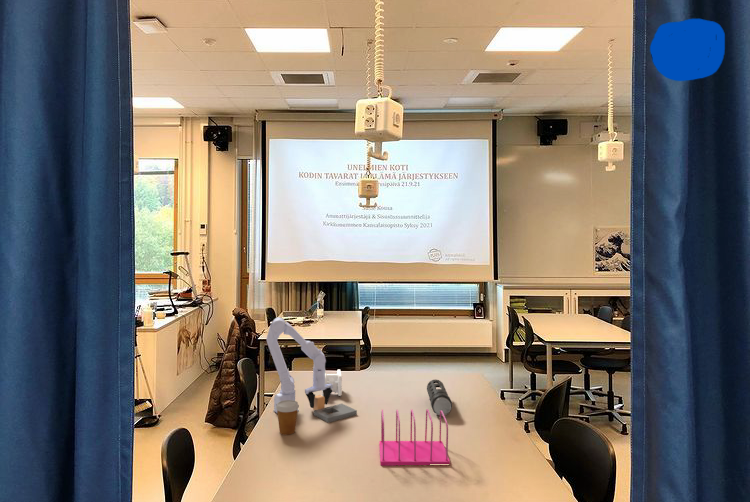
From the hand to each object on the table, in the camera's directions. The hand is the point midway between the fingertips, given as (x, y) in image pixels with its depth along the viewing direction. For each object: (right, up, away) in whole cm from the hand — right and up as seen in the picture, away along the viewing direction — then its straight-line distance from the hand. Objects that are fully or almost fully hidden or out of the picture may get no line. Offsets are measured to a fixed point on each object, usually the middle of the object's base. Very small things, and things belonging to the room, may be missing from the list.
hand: (318, 405), depth 224 cm
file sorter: (+41, -3, -48) cm, 63 cm away
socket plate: (+9, -2, -7) cm, 11 cm away
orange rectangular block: (0, -2, 0) cm, 2 cm away
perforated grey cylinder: (+58, -3, +3) cm, 58 cm away
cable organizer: (+4, -2, +22) cm, 23 cm away
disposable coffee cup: (-10, -2, -27) cm, 29 cm away
